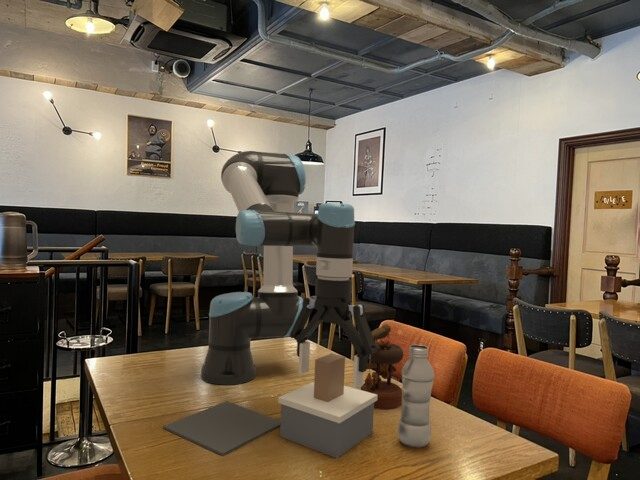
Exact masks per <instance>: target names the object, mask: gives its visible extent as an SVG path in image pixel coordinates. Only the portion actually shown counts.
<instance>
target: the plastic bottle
mask: <svg viewBox="0 0 640 480" xmlns="http://www.w3.org/2000/svg"><path fill="white" fill-rule="evenodd" d="M408 351H409V352H408V356H409V358H408V359H407V361H405V363H404V364H403V366H402V369H401V385H402V405H401V406H402V407H401V413H400V419H399V421H398V427H397V434H398V435H397V436H398V439H399V440H400V442H401V443H402V444H403V445H405V446H408V447H411V448H423V447H426V446H427V445H428V444H429V443H430V441H431V437H432V427H431V418H430V417H431V416H430V412H431V411H430V410H431V409H430V405H431V396H432V390H433V385H434V380H435V371H434V368H433V366H432V365H431V363H430V361H429V360H428V358H429V347H428V346H427V345H422V344H411V345H409V350H408Z"/></svg>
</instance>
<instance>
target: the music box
mask: <svg viewBox="0 0 640 480" xmlns="http://www.w3.org/2000/svg"><path fill="white" fill-rule="evenodd" d="M391 330H392V328H391V325H389V324H388V323H385V324H382V326H381V327H377V328H375V329H373V330H370V331H371V334H372V336H373V339H374V342H375V344H376V347H377V352H375V353H373V354H370V355H368V360H369V363H367V370H369V371H368V373H367V376H366V377H365V380H364V382H363V386H361V387H360V390H362V391H366V392H370V393H373V394H377V395H378V398H377V401H375V402H374V409H377V410H393V409H397V408H400V407H401V406H402V405H403V388H401V387H400V385H398V384H396V383H394V382H392V373H394V372H397V368H396V367H395V366H394V365H396V364H399V363H400V362H401V361H402V359H403V358H404V350H403V348H402V347H401V346H400V345H398V344H395V343H391V340H390V339H389V340H386V341H385V338H386V337H388V338H390V333H391ZM378 340H380V341H379V342H378ZM372 369H375V371H373V372H372V373H371V370H372ZM382 379H385V380H386V381H385V380H382Z"/></svg>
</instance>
